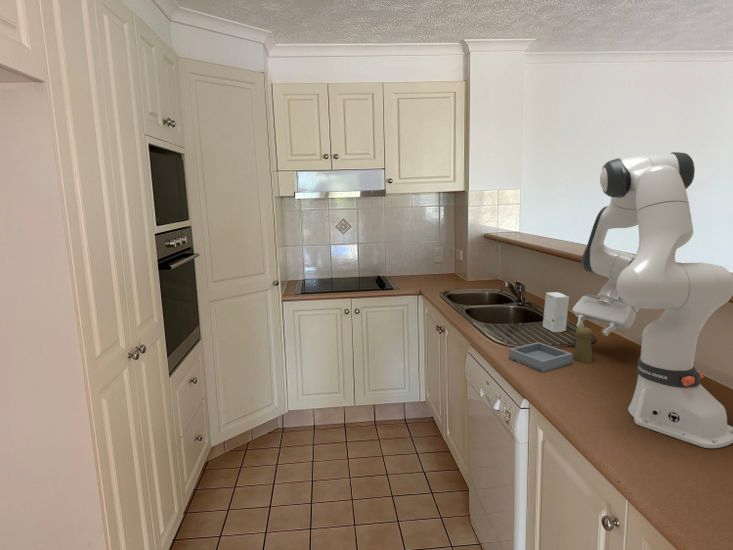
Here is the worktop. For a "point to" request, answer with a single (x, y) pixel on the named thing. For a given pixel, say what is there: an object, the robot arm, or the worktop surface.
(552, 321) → the skincare box
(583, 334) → the cork
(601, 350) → the worktop surface
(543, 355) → the tray
